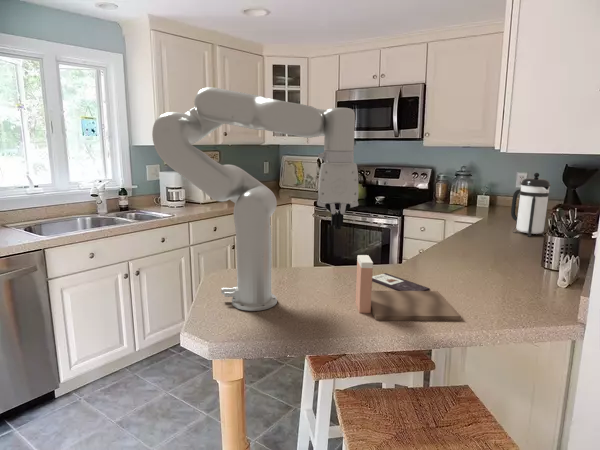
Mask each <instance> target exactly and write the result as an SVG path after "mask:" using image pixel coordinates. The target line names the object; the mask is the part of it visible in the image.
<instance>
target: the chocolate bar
mask: <svg viewBox="0 0 600 450" xmlns="http://www.w3.org/2000/svg"><path fill="white" fill-rule="evenodd" d="M372 283H375V284H378V285H381V286H383V287H386V288H388V289H392V290H393V291H431V288H430V287H427V286H424V285H421V284H418V283H415V282H412V281H410V280H407V279H403V278H401V277H398V276H395V275H392V274H389V273H387V272H384V273H382V274H377V275H372Z"/></svg>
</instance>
